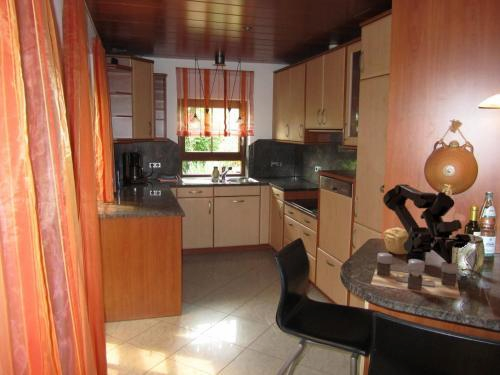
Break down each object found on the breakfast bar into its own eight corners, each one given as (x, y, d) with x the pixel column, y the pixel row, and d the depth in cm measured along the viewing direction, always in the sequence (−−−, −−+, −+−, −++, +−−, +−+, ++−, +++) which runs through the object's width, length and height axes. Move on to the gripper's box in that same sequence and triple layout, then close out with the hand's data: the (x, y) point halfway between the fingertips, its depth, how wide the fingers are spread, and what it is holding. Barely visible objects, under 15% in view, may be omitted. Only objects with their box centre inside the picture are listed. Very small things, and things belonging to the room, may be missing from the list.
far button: (414, 273, 142) (416, 258, 141) (426, 278, 138) (428, 263, 137) (403, 275, 140) (405, 260, 139) (415, 281, 136) (417, 265, 135)
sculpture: (378, 249, 185) (380, 225, 183) (400, 247, 189) (402, 223, 187) (395, 257, 174) (398, 232, 173) (418, 255, 179) (421, 230, 177)
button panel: (375, 272, 157) (376, 258, 156) (456, 284, 147) (458, 269, 146) (370, 288, 142) (371, 272, 141) (460, 303, 132) (462, 286, 131)
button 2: (447, 275, 147) (448, 260, 146) (460, 280, 142) (461, 265, 141) (437, 277, 145) (438, 262, 144) (449, 282, 140) (451, 267, 139)
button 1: (384, 266, 154) (385, 252, 154) (394, 270, 150) (395, 256, 149) (373, 267, 152) (374, 253, 151) (383, 272, 148) (384, 258, 147)
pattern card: (396, 275, 150) (396, 273, 150) (433, 281, 146) (433, 279, 145) (395, 281, 144) (395, 279, 144) (433, 287, 140) (434, 285, 140)
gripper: (420, 211, 144) (435, 252, 135) (471, 211, 146) (489, 251, 137) (406, 227, 153) (420, 267, 144) (454, 227, 155) (470, 266, 146)
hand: (450, 263), depth 143 cm, fingers closed, pressing on button 2
